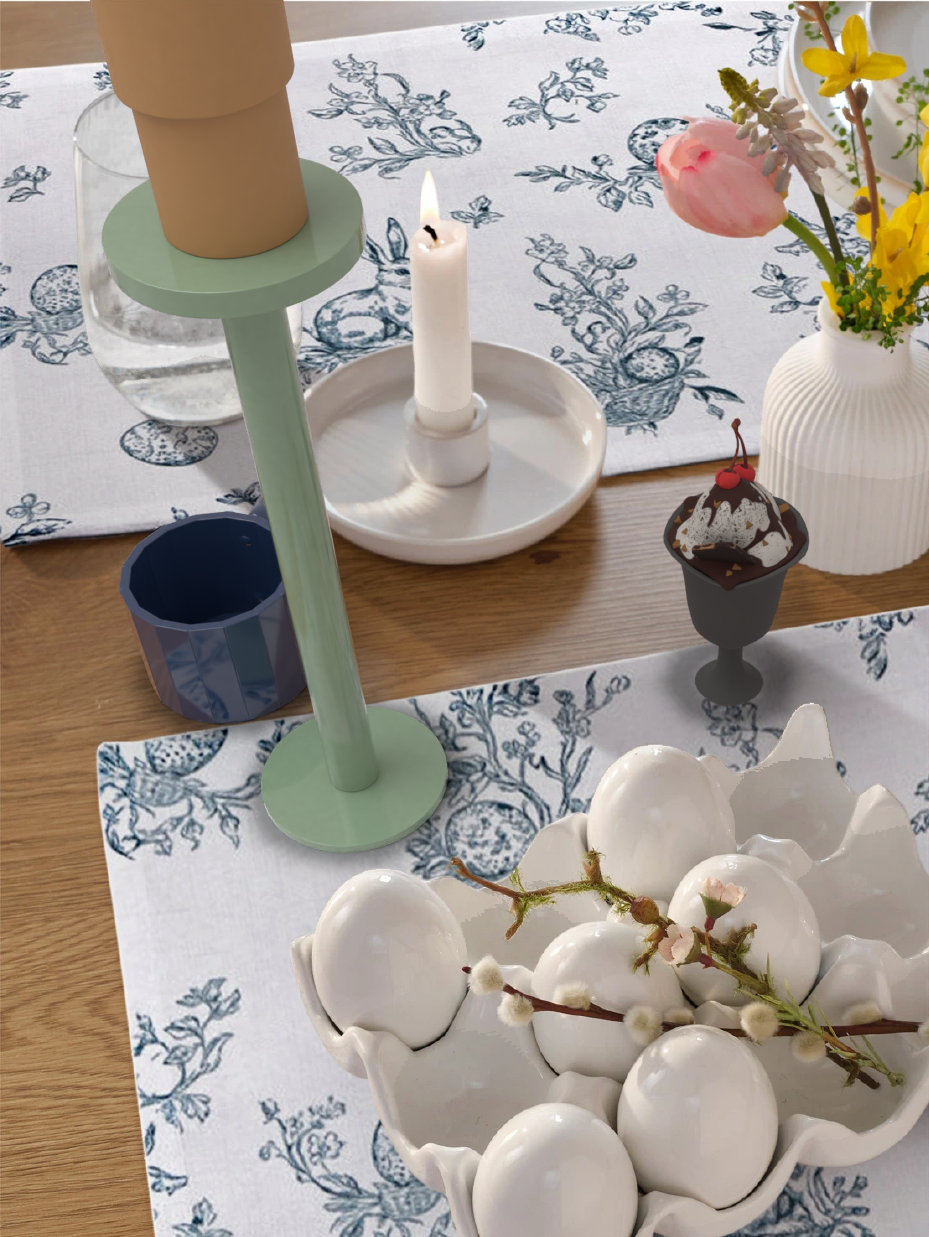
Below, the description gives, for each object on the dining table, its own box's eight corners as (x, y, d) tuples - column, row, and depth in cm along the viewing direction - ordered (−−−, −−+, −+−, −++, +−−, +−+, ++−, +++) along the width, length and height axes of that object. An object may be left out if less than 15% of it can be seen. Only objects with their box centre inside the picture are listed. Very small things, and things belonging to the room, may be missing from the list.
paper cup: (118, 255, 55) (19, -94, 46) (192, 166, 58) (113, -173, 50) (282, 277, 53) (211, -78, 45) (348, 185, 57) (294, -160, 48)
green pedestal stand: (234, 839, 77) (53, 274, 54) (306, 706, 83) (169, 141, 59) (412, 876, 75) (304, 308, 52) (473, 737, 81) (399, 167, 58)
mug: (281, 744, 81) (254, 643, 75) (125, 714, 83) (88, 613, 77) (365, 590, 88) (345, 487, 83) (220, 565, 90) (192, 463, 84)
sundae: (737, 623, 85) (750, 382, 74) (820, 697, 82) (847, 456, 70) (636, 677, 83) (633, 437, 71) (717, 755, 79) (727, 516, 68)
